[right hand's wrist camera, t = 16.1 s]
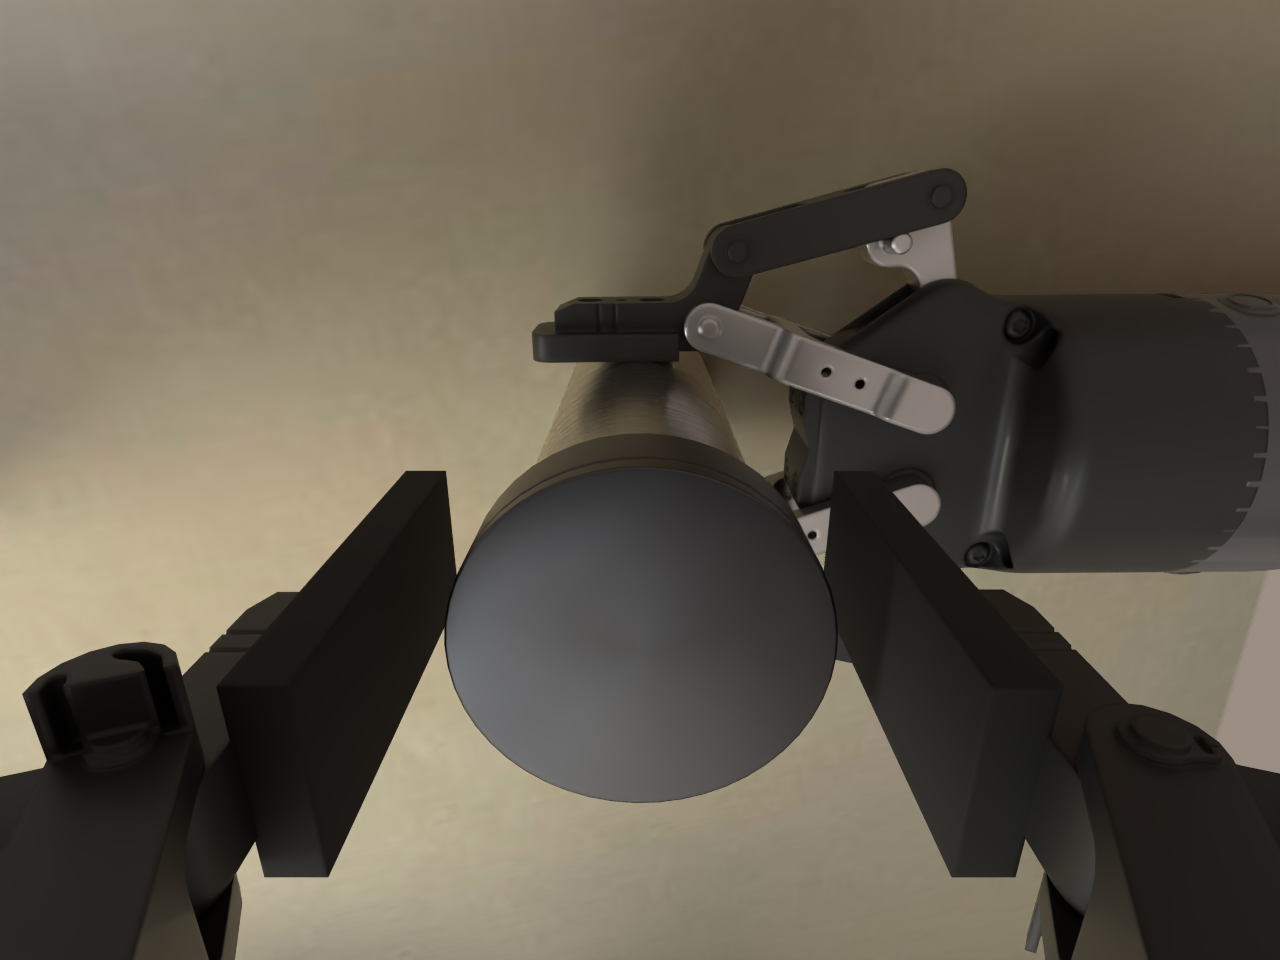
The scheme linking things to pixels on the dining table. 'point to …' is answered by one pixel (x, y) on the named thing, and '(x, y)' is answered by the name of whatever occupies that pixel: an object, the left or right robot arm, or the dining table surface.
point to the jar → (641, 404)
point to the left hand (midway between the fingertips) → (545, 439)
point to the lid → (641, 621)
